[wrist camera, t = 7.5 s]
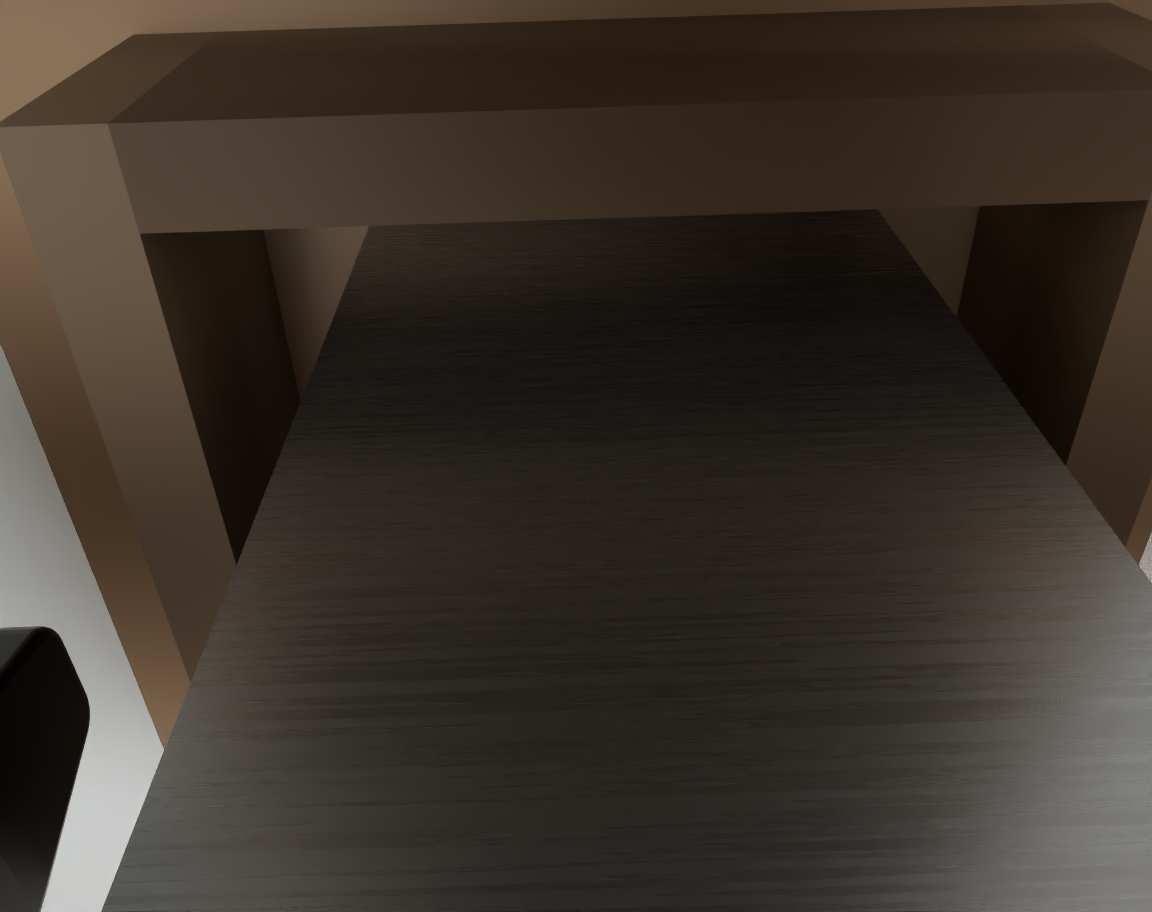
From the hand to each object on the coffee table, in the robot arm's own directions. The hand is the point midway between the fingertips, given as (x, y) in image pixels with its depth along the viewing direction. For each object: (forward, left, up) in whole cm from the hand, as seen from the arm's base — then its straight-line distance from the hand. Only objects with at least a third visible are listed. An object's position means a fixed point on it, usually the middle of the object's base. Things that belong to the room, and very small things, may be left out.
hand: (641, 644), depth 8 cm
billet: (0, 0, -3) cm, 3 cm away
